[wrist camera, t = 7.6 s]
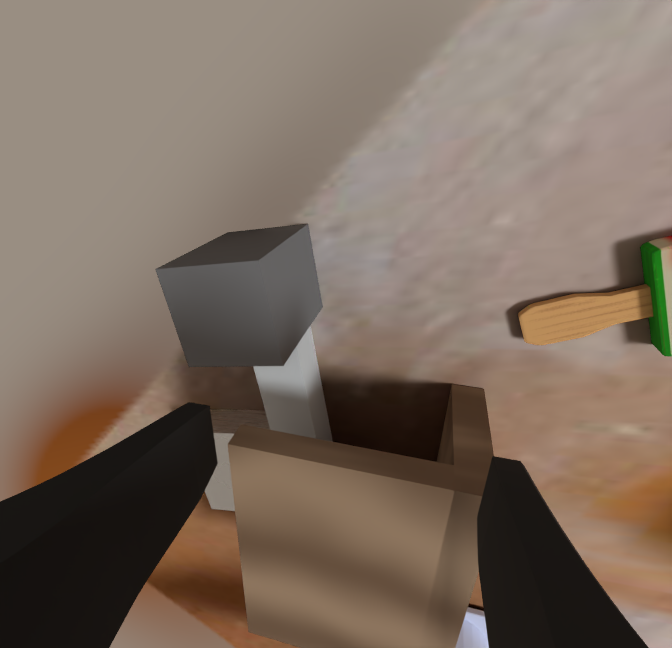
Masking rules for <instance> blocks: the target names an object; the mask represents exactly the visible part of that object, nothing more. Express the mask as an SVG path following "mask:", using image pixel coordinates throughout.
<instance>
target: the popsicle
mask: <svg viewBox="0 0 672 648" xmlns="http://www.w3.org/2000/svg"><path fill="white" fill-rule="evenodd" d="M640 249H641V257H642V266H643V274H644V283H645V284H644V285H639V286H635V287H631V288H626V289H622V290H617V291H613V292H609V293H582V294H571V295H567V296H562V297H558V298H554V299H550V300H545V301H541V302H537V303H533V304H530V305H528V306H527V307H525V308H524V309H523V310H521V311H520V312H519V314H518V318H519V322H520V326H521V330H522V334H523V338H524V341H525V342H526V343H530V344H534V345H546V344H551V343H556V342H561V341H566V340H571V339H576V338H581V337H585V336H587V335H590V334H592V333H595V332H597V331H600V330H602V329H604V328H607V327H609V326H612V325H614V324H618V323H623V322H628V321H633V320H638V319H643V318H648V317H649V325H650V334H651V342H652V344H653V345H654V346H655V347H656V348H657V349H658V350H659V351H660V352H661V353H662V354H663V355H664V356H672V236H668V237H663V238H659V239H655V240H652V241H648V242H646V243H645V244H643V245H642V246H641V247H640Z"/></svg>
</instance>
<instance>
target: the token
mask: <svg viewBox="0 0 672 648" xmlns="http://www.w3.org/2000/svg"><path fill="white" fill-rule="evenodd" d="M210 412H211V419H212V426H213V433H214V440H215V447H216V454H217V461H218V464H217V466H216V468H215V470H214V473H213V475H212V477H211V479H210V481H209V483H208V485H207V487H206V489H205V493H206V496H207V498H208V501H209V503H210V506H211V508H212V509H219V510H229V511H235V506H234V497H233V488H232V480H231V471H230V462H229V453H228V443H229V441H230V440H231V438H232V437H233V435H234V434H235V432H236V431H237V429H238V428H239V426H240V425H241V424H243V425H249V426H254V427H259V428H264V429H269V430H270V427H269V423H268V419H267V416H266V412H265V410H215V409H210Z"/></svg>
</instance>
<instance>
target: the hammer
mask: <svg viewBox="0 0 672 648" xmlns="http://www.w3.org/2000/svg"><path fill="white" fill-rule="evenodd" d="M156 272H157V275H158V278H159V281H160V284H161V287H162V289H163V293H164V296H165V298H166V301H167V304H168V307H169V310H170V313H171V316H172V319H173V322H174V325H175V328H176V330H177V334H178V337H179V340H180V342H181V345H182V348H183V351H184V354H185V357H186V360H187V363H188V366H189V367H230V366H253V367H254V371H255V375H256V378H257V382H258V386H259V390H260V393H261V397H262V401H263V404H264V408H265V412H266V416H267V419H268V423H269V427H270V430H274V431H280V432H285V433H290V434H295V435H300V436H305V437H311V438H316V439H321V440H326V441H331V442H333V440H332V435H331V430H330V424H329V419H328V414H327V409H326V404H325V398H324V393H323V388H322V383H321V378H320V373H319V367H318V362H317V357H316V352H315V347H314V341H313V336H312V331H311V326H310V325H311V324H312V322H313V321H314V319H315V318H316V316H317V315H318V313H319V312H320V310H321V309H322V307H323V306H322V301H321V295H320V289H319V283H318V278H317V272H316V266H315V261H314V255H313V249H312V244H311V238H310V232H309V227H308V224H302V225H292V226H283V227H274V228H265V229H256V230H247V231H237V232H228V233H226V234H224V235H222V236H220V237H218V238H216V239H214V240H212V241H210V242H208V243H207V244H204V245H202V246H200V247H198V248H197V249H194V250H192V251H191V252H189V253H186V254H184V255H183V256H181V257H179V258H177V259H175V260H173V261H171V262H169V263H167V264H165V265H163V266H161V267H159V268H157V269H156Z"/></svg>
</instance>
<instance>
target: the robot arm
mask: <svg viewBox="0 0 672 648" xmlns="http://www.w3.org/2000/svg"><path fill="white" fill-rule="evenodd" d="M217 464H218V461H217V454H216V447H215V440H214V433H213V426H212V419H211V412H210V406H207V405H201V404H196V403H190V402H189V403H187V404H185V405H183V406H181V407H179V408H178V409H176V410H174V411H172V412H171V413H169V414H167V415H165V416H164V417H162V418H160V419H159V420H157V421H155V422H153V423H152V424H150V425H148V426H147V427H145V428H143V429H141V430H140V431H138V432H136V433H135V434H133V435H131V436H129V437H128V438H126V439H124V440H122V441H121V442H119V443H117V444H116V445H114V446H112V447H110V448H108V449H107V450H105V451H103V452H101V453H99V454H97V455H95V456H94V457H92V458H90V459H88V460H86V461H84V462H82V463H80V464H79V465H77V466H75V467H73V468H71V469H69V470H67V471H65V472H63V473H61V474H60V475H58V476H55V477H53V478H52V479H49V480H47V481H45V482H43V483H41V484H39V485H37V486H34V487H32V488H30V489H28V490H25V491H23V492H21V493H19V494H17V495H15V496H12V497H10V498H8V499H5V500H3V501H1V502H0V648H109V647H110V645H111V643H112V641H113V640H114V638H115V636H116V634H117V632H118V630H119V629H120V627H121V625H122V623H123V621H124V619H125V617H126V616H127V614H128V612H129V610H130V608H131V606H132V605H133V603H134V601H135V599H136V597H137V596H138V594H139V592H140V591H141V589H142V588H143V586H144V584H145V583H146V581H147V579H148V578H149V576H150V575H151V573H152V572H153V570H154V569H155V567H156V566H157V564H158V563H159V561H160V560H161V558H162V557H163V555H164V554H165V552H166V551H167V549H168V548H169V546H170V545H171V543H172V542H173V540H174V539H175V537H176V536H177V534H178V533H179V531H180V530H181V528H182V527H183V525H184V524H185V522H186V520H187V519H188V517H189V516H190V514H191V513H192V511H193V510H194V508H195V507H196V505H197V503H198V502H199V500H200V499H201V497H202V495H203V493H204V491H205V489H206V487H207V485H208V483H209V481H210V479H211V477H212V475H213V473H214V470H215V468H216V466H217ZM477 547H478V567H479V575H480V583H481V591H482V599H483V607H484V611H482V610H478V609H474V608H470V607H468V608H467V611H466V615H465V618H464V621H463V624H462V628H461V631H460V634H459V638H458V641H457V644H456V647H455V648H648V646H647V645H646V644H645V643H644V641H643V640H642V639H641V638H640V636H639V635H638V634H637V633H636V631H635V630H634V629H633V628H632V626H631V625H630V624H629V622H628V621H627V620H626V619H625V617H624V616H623V615H622V613H621V612H620V611H619V609H618V608H617V607H616V605H615V604H614V603H613V601H612V600H611V599H610V597H609V596H608V595H607V593H606V592H605V590H604V589H603V588H602V586H601V585H600V584H599V582H598V581H597V580H596V578H595V577H594V575H593V574H592V572H591V571H590V570H589V568H588V567H587V565H586V564H585V562H584V561H583V560H582V558H581V557H580V555H579V554H578V552H577V551H576V549H575V548H574V546H573V545H572V543H571V542H570V540H569V539H568V537H567V536H566V534H565V533H564V531H563V530H562V528H561V526H560V525H559V523H558V522H557V520H556V519H555V517H554V515H553V514H552V512H551V510H550V509H549V507H548V506H547V504H546V502H545V501H544V499H543V497H542V496H541V494H540V492H539V491H538V489H537V487H536V486H535V484H534V482H533V480H532V479H531V477H530V475H529V473H528V472H527V470H526V468H525V466H524V465H523V464H522V463H521V461H517V460H511V459H506V458H500V457H494V456H492V460H491V464H490V468H489V472H488V476H487V480H486V484H485V488H484V492H483V495H482V499H481V503H480V507H479V511H478V515H477Z"/></svg>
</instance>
